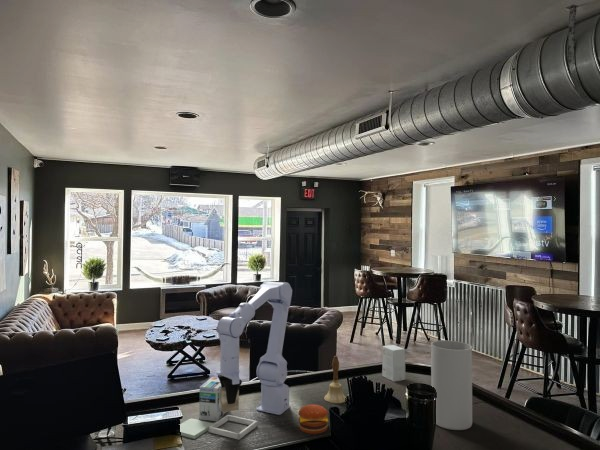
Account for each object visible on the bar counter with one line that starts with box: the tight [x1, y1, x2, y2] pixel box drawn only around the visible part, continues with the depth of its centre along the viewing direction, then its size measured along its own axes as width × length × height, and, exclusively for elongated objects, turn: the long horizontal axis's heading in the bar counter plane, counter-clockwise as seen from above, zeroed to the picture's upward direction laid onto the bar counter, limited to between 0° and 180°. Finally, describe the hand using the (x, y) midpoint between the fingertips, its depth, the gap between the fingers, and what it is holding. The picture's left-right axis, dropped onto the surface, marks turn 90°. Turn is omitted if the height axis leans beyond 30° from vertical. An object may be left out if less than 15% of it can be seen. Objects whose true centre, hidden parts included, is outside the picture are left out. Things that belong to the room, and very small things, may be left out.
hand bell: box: [324, 355, 347, 404], centre depth 157 cm, size 8×8×16 cm
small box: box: [381, 344, 406, 383], centre depth 181 cm, size 8×6×13 cm
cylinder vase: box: [430, 339, 473, 431], centre depth 138 cm, size 12×12×25 cm
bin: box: [207, 414, 258, 440], centre depth 132 cm, size 11×10×2 cm
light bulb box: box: [198, 376, 227, 422], centre depth 143 cm, size 11×7×11 cm, turn 168°
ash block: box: [219, 387, 240, 413], centre depth 130 cm, size 4×5×6 cm
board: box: [179, 418, 214, 440], centre depth 132 cm, size 9×9×1 cm
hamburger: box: [298, 404, 329, 435], centre depth 134 cm, size 9×10×7 cm
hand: (229, 400), depth 130 cm, fingers closed on ash block, 4 cm apart
